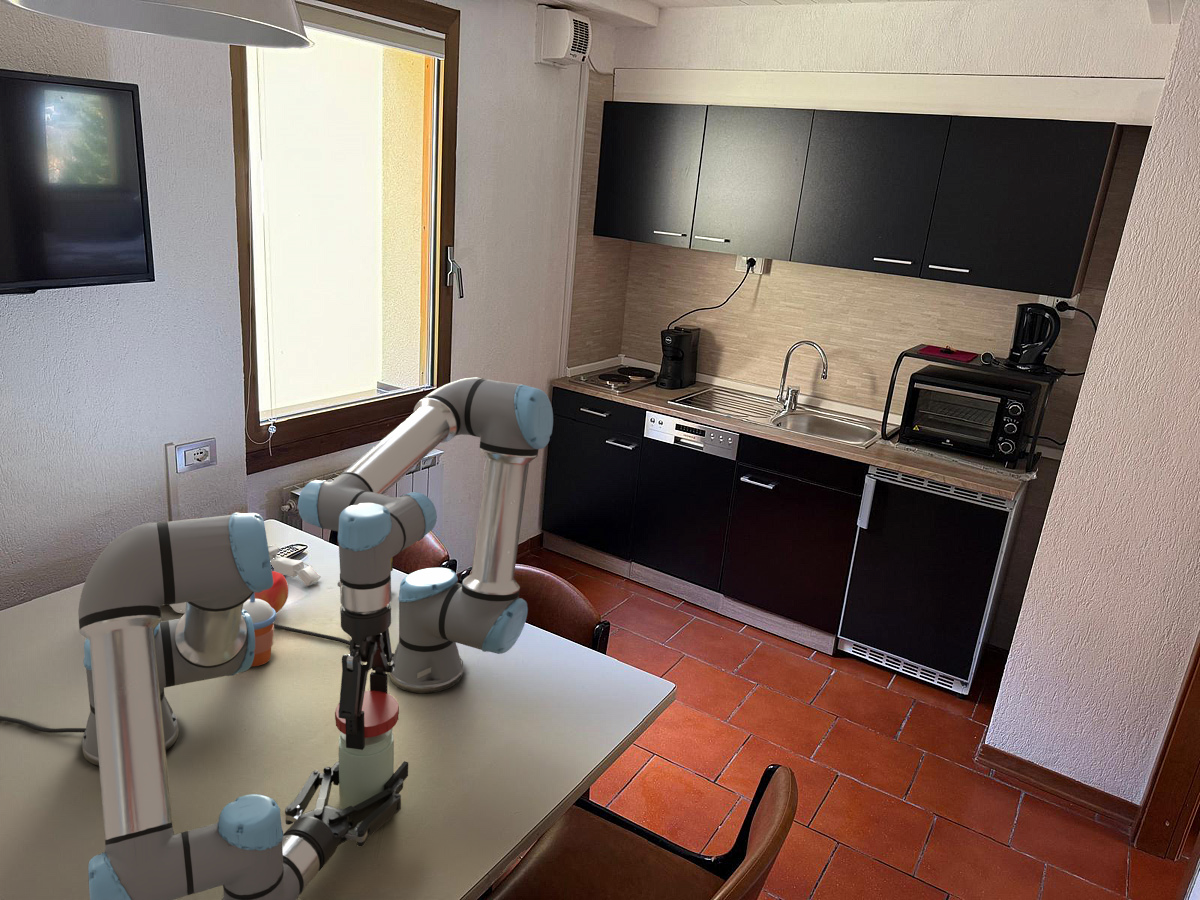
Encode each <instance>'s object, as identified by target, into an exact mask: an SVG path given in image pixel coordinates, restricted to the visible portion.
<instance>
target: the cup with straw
mask: <svg viewBox="0 0 1200 900" xmlns="http://www.w3.org/2000/svg"><path fill="white" fill-rule="evenodd" d="M243 609H244V610H246V611H247V612H248V614H250V616H251V619H252V622H253V627H254V633H255V650H254V660H253V663H252V665H251V667H259V666H262V665H264V664H266V663H268V662H269V661H270V660H271V657H272V647H273V644H274V629H275V628H274V625H273V624H274V623H275V621H276V620H277V617H278V616H277V613H276V611H275V610H274V609H273V608H272V607H271V606H270V605H269V604H268V603H267V602H266V601H264V600H261V599H255V592H254V593H253V594H252V596H251V597H250V599H249V600H247V601H246V602H245V603H244V604H243Z"/></svg>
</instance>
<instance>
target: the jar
mask: <svg viewBox="0 0 1200 900" xmlns="http://www.w3.org/2000/svg"><path fill="white" fill-rule="evenodd" d="M394 749H395V735H394V733H393V728H392V729H390V730H389V731H387V732H386V733H384V734H381V735H378V736H374V737H369V738H365V747H364V749H363V750H360V749H352V748H346V735H345V734H344V733H342V732H341V731H339V738H338V761H339V784H338V787H339V788H338V791H339V792H338V794H339V796H338V797H339V799H338V800H339V801H338V803H339V809H345V808H347V807H349V806H353V807H354V806H356V805H357V804H359V803H361V802H363V801H365V800H367V799H369V798H371V797H373V796H374V795H376V794H378V793H380V792H382V791H384V785H385V784H386V782H387V781H388V780H389V779H390V778H391V776H392V775H393V774H394V773H395V771H394V770H395V769H394V767H395V762H394V761H395V750H394ZM361 823H362V821H361V822H360V823H358V824H361ZM355 828H356V827H355Z"/></svg>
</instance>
